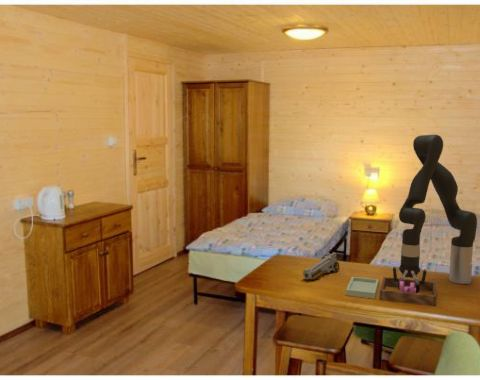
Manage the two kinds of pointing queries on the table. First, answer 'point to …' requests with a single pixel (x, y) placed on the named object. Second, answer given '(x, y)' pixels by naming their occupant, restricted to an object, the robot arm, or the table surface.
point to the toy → (322, 267)
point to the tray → (362, 287)
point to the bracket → (406, 289)
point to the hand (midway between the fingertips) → (408, 291)
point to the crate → (406, 296)
